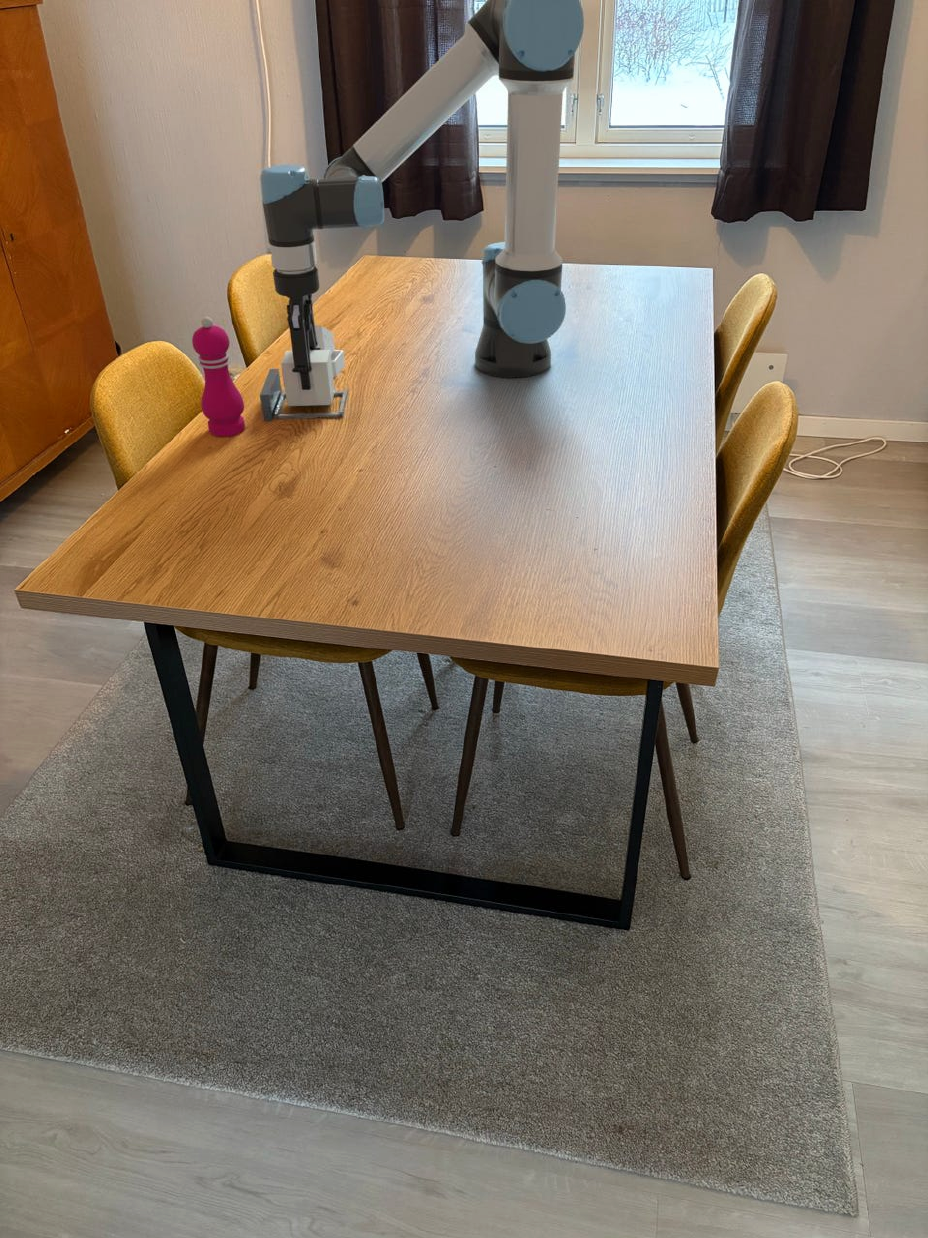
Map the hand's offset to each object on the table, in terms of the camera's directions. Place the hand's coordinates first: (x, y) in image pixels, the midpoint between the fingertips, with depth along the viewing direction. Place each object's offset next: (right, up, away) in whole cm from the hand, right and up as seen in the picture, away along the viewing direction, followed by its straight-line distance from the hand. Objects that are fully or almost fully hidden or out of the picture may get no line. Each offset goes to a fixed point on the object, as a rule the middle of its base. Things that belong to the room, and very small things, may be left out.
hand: (311, 396), depth 172 cm
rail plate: (0, -2, +1) cm, 2 cm away
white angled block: (+2, +8, +15) cm, 17 cm away
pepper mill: (-14, -7, -6) cm, 17 cm away
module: (0, 0, 0) cm, 0 cm away
